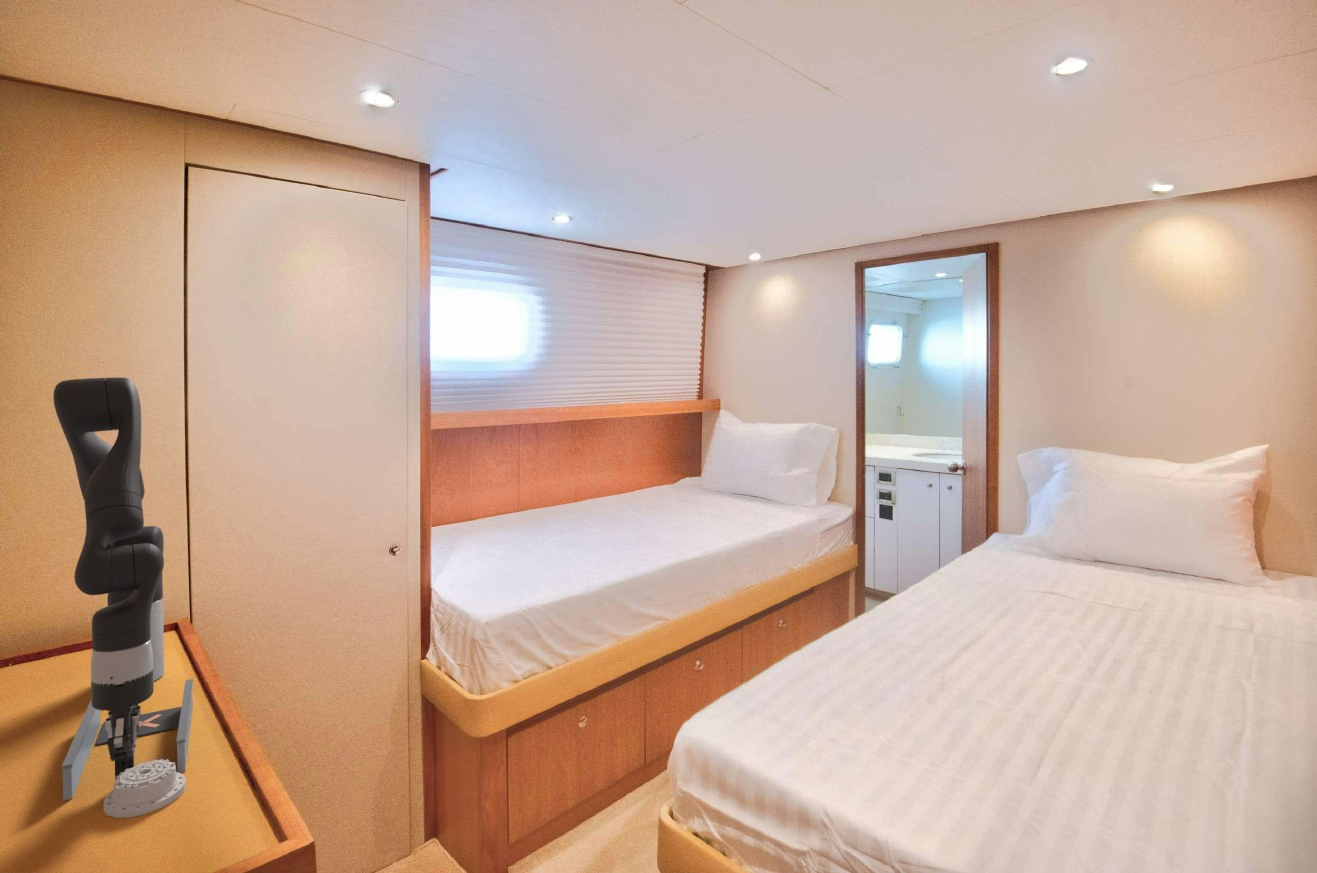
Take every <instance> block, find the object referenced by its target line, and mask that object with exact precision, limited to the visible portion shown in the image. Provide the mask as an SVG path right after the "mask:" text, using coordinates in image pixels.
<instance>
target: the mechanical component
mask: <svg viewBox="0 0 1317 873" xmlns="http://www.w3.org/2000/svg"><path fill="white" fill-rule="evenodd" d="M176 769H177V766H176V762H172V761H170V760H169V759H165V760H164V759H163V758H160V759H159V760H158V759H152V761H151V760H150V761H147V762H140V763H138V764H137V765H134V767H132V768H130V769H125V772H121V773H120V775H118V776H116V780H115V779H114V782H113V789H112V790H111V791H110V792H109V793H108V794H107V795H106V796H105V797H104V800H103V804H102V805H103V812H104V814H106V816H108V817H111V818H116V819H120V818H126V819H127V818H133V817H137V816H138V817H139V816H142V815H145V814H149V813H152V812H154V811H157V810H159V809H162V808H164V807H165V806H168V805H170V804H171V803H172V802H174V801H176V800H177V799H178V798H180V797H181V795H182V794H183V793H184V792H185V790H186V788H187V780H186V776H185V775H184V774H183V773H182V772H180V773H178V771H177V770H176ZM176 798H177V799H176Z"/></svg>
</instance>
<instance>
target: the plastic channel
mask: <svg viewBox="0 0 1317 873" xmlns="http://www.w3.org/2000/svg"><path fill="white" fill-rule="evenodd" d="M193 684H194V678H191V679H185V682H184V689H183V695H182V700H181V706H180V707H181V714H180V720H179V727H178V729H177V734H176V741H175V742H176V751H177V753H176V754H177V756H176V757H177V772H178V773H184V772H185V773H186V765H187V761H188V760H187V758H188V750H189V744H190V742H189V741H190V733H191V727H192V726H191V725H192V717H193V716H192V715H193V708H194V700H193V698H194V696H193V691H194V690H193V689H194V688H193ZM101 717H102V716H101V710H97V709H95V708H93V707H92V704H91V700H89V703H88V706H87V708H86V711H85V712H84V714H83V716H82V720H81V721H80V724H79V726H78V729H77V731H76V732H75V734H74V738H73V740H72V742H71V744H70V747H69V749H68V752H67V754H66V756H65V758H64V760H63V762H62V765H61V771H62V797H63V799H62V800H63V802H65V801H69V800H72V799H73V798H74V795H75V792H76V790H77V788H78V785H79V782H80V779H81V777H82V774H83V771H84V770H85V768H86V767H85V766H86V763H87V761H88V758H89V756H90V753H91V751H92V748H93V745H94V744H95V740H96V737H97V734H98V732H99V730H100V727H101V719H102V718H101Z"/></svg>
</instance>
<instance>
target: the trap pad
mask: <svg viewBox="0 0 1317 873" xmlns="http://www.w3.org/2000/svg"><path fill="white" fill-rule="evenodd" d="M181 707H182V706H178V707H173V708H172V707H171V708H168V709H162V710H158V711H157V710H156V711H151V712H147V713H141V714H140V717H139V732H138V735H137V738H139V737H144V736H149V735H153V734H157V733H162V732H167V731H168V732H169V731H173V730H178V727H179V720H180V714H181ZM105 722H106V720H104V721H103V723H102V726H101V728H100V729H101V730H100V732H99V735H98V737H97V740H96V742H95V746H97V747H98V746H101V745H107V741H108V731H106V726H105Z"/></svg>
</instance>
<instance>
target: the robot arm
mask: <svg viewBox="0 0 1317 873" xmlns="http://www.w3.org/2000/svg"><path fill="white" fill-rule="evenodd" d="M52 397H53V405H54V406H53V407H54V409H55V413H56V416H57V419H58V421H59V424H60V426H61V429H62V432H63V435H64V437H65V439H66V441H67V444H68V446H69V449H70V452H71V454H72V457H73V461H74V465H75V470H76V471H75V472H76V474H77V479H78V484H79V488H80V491H81V495H82V499H83V502H84V512H85V522H86V525H85V528H86V529H85V536H84V537H85V539H84V542H83V546H82V548H81V552H80V554H79V558H78V561H77V563H76V565H75V571H74V574H73V575H74V584H75V586H76V587H77V588H78V590H79V591H81V593H84V594H85V595H88V596H98V595H106V594H107V606H105V607H103V608H100V609H98V610H97V611H96V612H94V614H93V615H92V619H91V636H92V637H91V639H92V640H91V641H92V642H91V643H92V649H91V658H90V693H91V695H90V696H91V699H90V701H91V704H92V707H93V708H95V709H97V710H100V711H108V713H107V714H108V715H107V718H105V721H106V722H105V721H104V722H105V726H106V731H108V741H107V744H106V745H107V749H108V754H109V756H110V757H109V758H110V759H109V760H110V762H114V781H115V780H116V776H118V775H120V773H121V772H125V769H130V768H132V767H135V752H136V748H137V744H136V742H137V739H138V737H137V735H138V732H139V717H140V715H141V714H142V709H141V708H142V706H141V705H139V704H141V703H144V702H145V701H147V700H148V699H149V698H151V697H152V696H153V694H154V690H155V689H154V682H155V681H158V680H159V679H161V678H162V677H163V676H164V675H165V643H164V642H165V640H164V638H165V636H164V629H165V628H164V594H163V593H164V592H163V586H164V585H163V571H164V566H165V565H164V564H165V559H164V548H165V547H164V545H165V544H164V534H163V531H162V529H161V528H160V527H159V526H157V525H156V526H155V525H148V526H147V525H146V526H144V524H145V523H144V522H145V518H144V512H143V511H144V510H143V502H142V501H143V499H144V497H145V484H144V480H143V474H142V470H141V466H140V465H141V456H142V455H141V452H142V409H141V408H142V407H141V401H140V400H141V399H140V395H139V390H138V389H137V386H136V384H135V382H133V380H131V379H130V378H127V377H120V376H119V377H96V378H95V377H94V378H76V379H75V378H74V379H68V380H67V379H65V380H62V381H60V382H58V383H57V384H56V385H55V387H54V390H53V396H52ZM106 431H118V432H117V436H116V439H115V442H114V443H113V445H112V444H110V443H107V441H105V440H103V439H102V438H101V437H99V436H98V435H97V434H96V433H95V432H106Z"/></svg>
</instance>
